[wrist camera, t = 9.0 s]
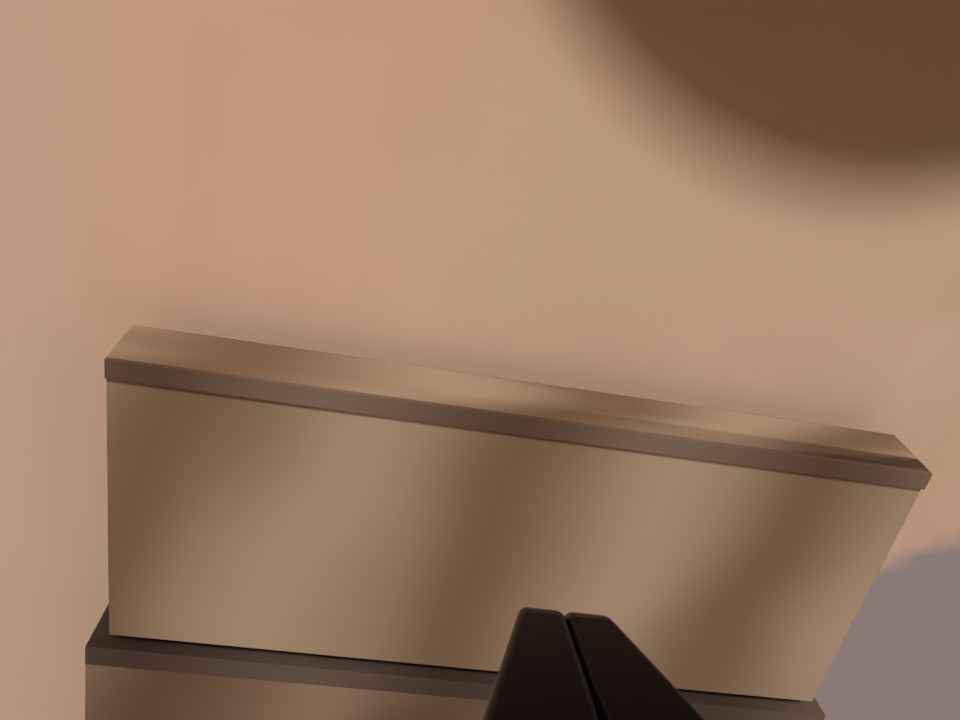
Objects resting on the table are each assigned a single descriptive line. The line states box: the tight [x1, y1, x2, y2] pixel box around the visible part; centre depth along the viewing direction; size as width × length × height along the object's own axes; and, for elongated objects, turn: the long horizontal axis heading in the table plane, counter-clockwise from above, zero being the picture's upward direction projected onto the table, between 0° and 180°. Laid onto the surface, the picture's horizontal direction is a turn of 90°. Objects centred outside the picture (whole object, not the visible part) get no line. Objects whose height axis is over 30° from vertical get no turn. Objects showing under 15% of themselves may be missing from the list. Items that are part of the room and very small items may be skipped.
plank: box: [105, 325, 932, 701], centre depth 18 cm, size 17×7×2 cm, turn 79°
